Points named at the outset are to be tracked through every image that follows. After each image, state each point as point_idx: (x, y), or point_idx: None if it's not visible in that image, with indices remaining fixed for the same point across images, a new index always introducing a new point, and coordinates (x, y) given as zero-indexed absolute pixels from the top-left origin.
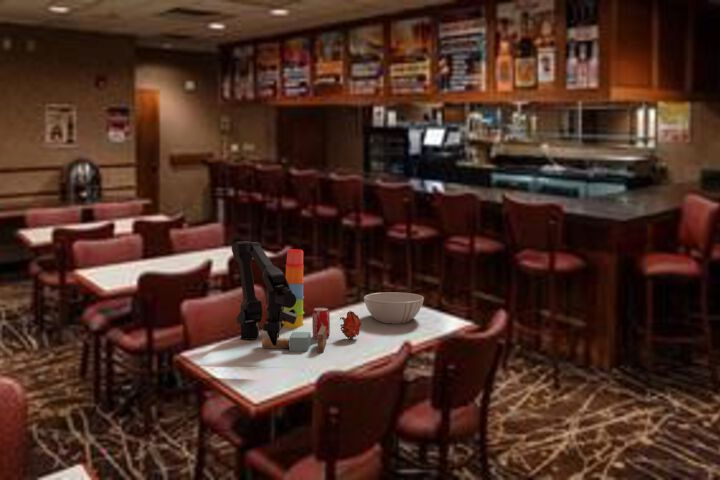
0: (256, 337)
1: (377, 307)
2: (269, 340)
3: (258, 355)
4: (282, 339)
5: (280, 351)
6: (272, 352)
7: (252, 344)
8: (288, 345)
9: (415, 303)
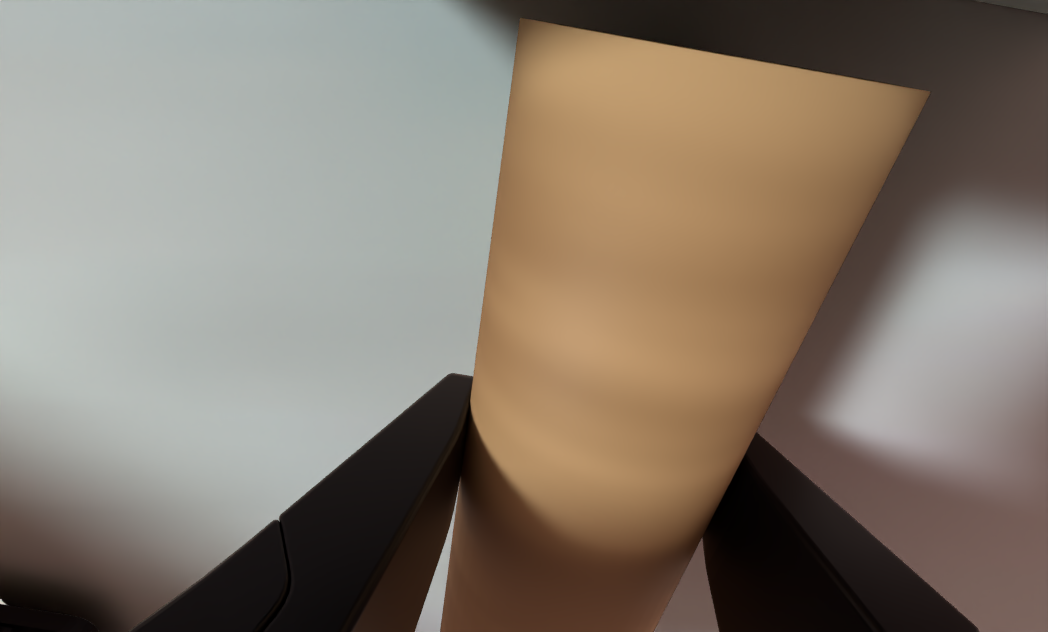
0: (26, 625)
1: None
2: (654, 627)
3: (1036, 608)
4: (769, 352)
5: (963, 276)
6: (957, 428)
7: None
8: (710, 51)
9: None
